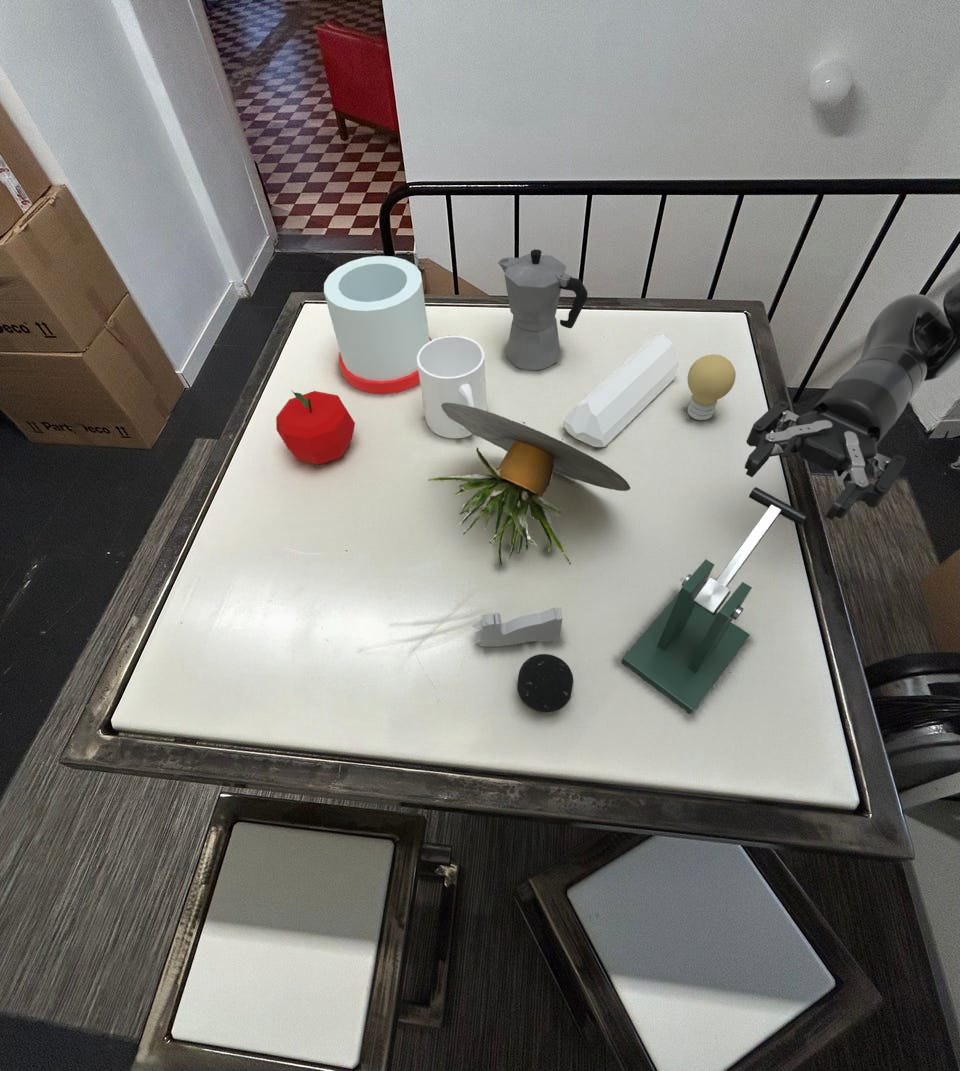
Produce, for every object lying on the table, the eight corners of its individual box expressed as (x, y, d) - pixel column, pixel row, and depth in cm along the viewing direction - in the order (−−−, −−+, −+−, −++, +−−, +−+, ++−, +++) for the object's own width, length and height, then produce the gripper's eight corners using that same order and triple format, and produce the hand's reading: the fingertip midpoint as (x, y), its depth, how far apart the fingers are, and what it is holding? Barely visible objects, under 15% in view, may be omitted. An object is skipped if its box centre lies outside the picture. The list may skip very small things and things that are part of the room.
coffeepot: (484, 356, 103) (480, 253, 89) (515, 327, 108) (515, 225, 93) (564, 388, 98) (573, 283, 83) (592, 356, 102) (606, 252, 87)
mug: (461, 390, 98) (456, 327, 89) (510, 429, 92) (510, 366, 83) (414, 417, 95) (403, 355, 86) (461, 459, 89) (455, 397, 80)
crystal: (609, 445, 84) (697, 358, 94) (574, 406, 84) (666, 323, 94) (583, 465, 91) (668, 382, 101) (550, 429, 91) (639, 349, 101)
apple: (373, 443, 92) (359, 391, 84) (319, 485, 87) (299, 434, 79) (326, 414, 96) (310, 361, 88) (273, 452, 92) (250, 401, 84)
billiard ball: (522, 664, 70) (522, 640, 65) (574, 674, 69) (579, 650, 64) (512, 714, 66) (512, 693, 61) (567, 725, 65) (571, 705, 60)
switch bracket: (679, 594, 74) (708, 525, 63) (747, 639, 70) (790, 573, 59) (620, 662, 69) (641, 600, 58) (690, 714, 65) (726, 658, 54)
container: (455, 354, 104) (447, 273, 92) (392, 407, 97) (375, 326, 85) (385, 323, 110) (370, 243, 98) (321, 370, 103) (297, 290, 91)
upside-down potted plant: (435, 509, 93) (354, 513, 69) (485, 403, 90) (419, 368, 66) (581, 590, 87) (548, 624, 63) (641, 479, 84) (629, 471, 60)
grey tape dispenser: (558, 642, 71) (473, 649, 71) (557, 631, 72) (472, 638, 72) (562, 618, 67) (471, 625, 66) (560, 607, 67) (470, 614, 67)
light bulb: (689, 432, 90) (706, 378, 82) (670, 405, 94) (685, 350, 86) (729, 423, 91) (749, 369, 83) (708, 396, 95) (726, 341, 87)
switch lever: (754, 490, 62) (756, 483, 60) (806, 518, 60) (809, 512, 58) (680, 594, 63) (678, 590, 60) (728, 626, 60) (728, 623, 58)
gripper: (811, 353, 68) (736, 431, 61) (947, 410, 62) (880, 503, 55) (787, 405, 74) (716, 481, 67) (908, 461, 68) (844, 551, 61)
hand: (790, 491), depth 61 cm, fingers open, 8 cm apart
